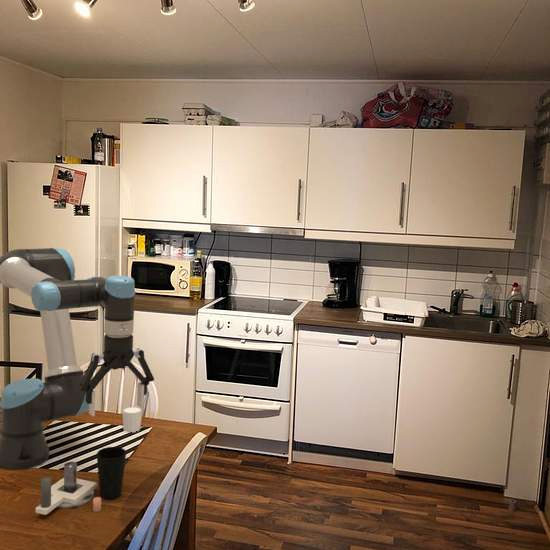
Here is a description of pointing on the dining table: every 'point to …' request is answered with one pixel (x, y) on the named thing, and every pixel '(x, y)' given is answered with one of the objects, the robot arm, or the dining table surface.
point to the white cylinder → (131, 419)
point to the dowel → (97, 504)
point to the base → (72, 485)
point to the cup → (111, 471)
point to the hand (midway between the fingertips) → (116, 410)
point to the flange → (61, 494)
